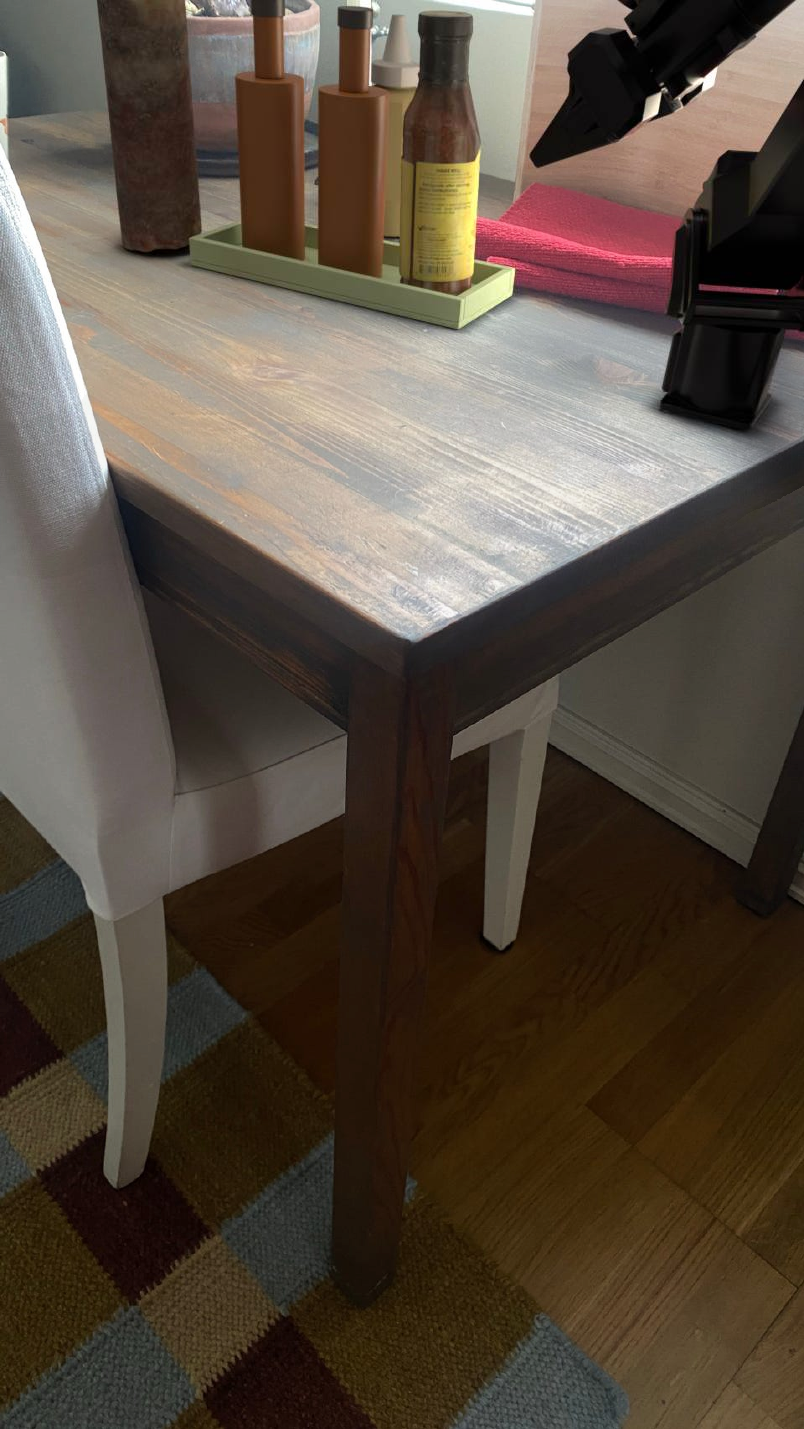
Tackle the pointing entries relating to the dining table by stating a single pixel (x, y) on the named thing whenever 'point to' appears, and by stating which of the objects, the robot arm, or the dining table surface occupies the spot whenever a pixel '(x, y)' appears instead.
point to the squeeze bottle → (395, 111)
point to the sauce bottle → (440, 161)
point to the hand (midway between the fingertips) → (556, 150)
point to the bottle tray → (353, 283)
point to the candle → (151, 121)
